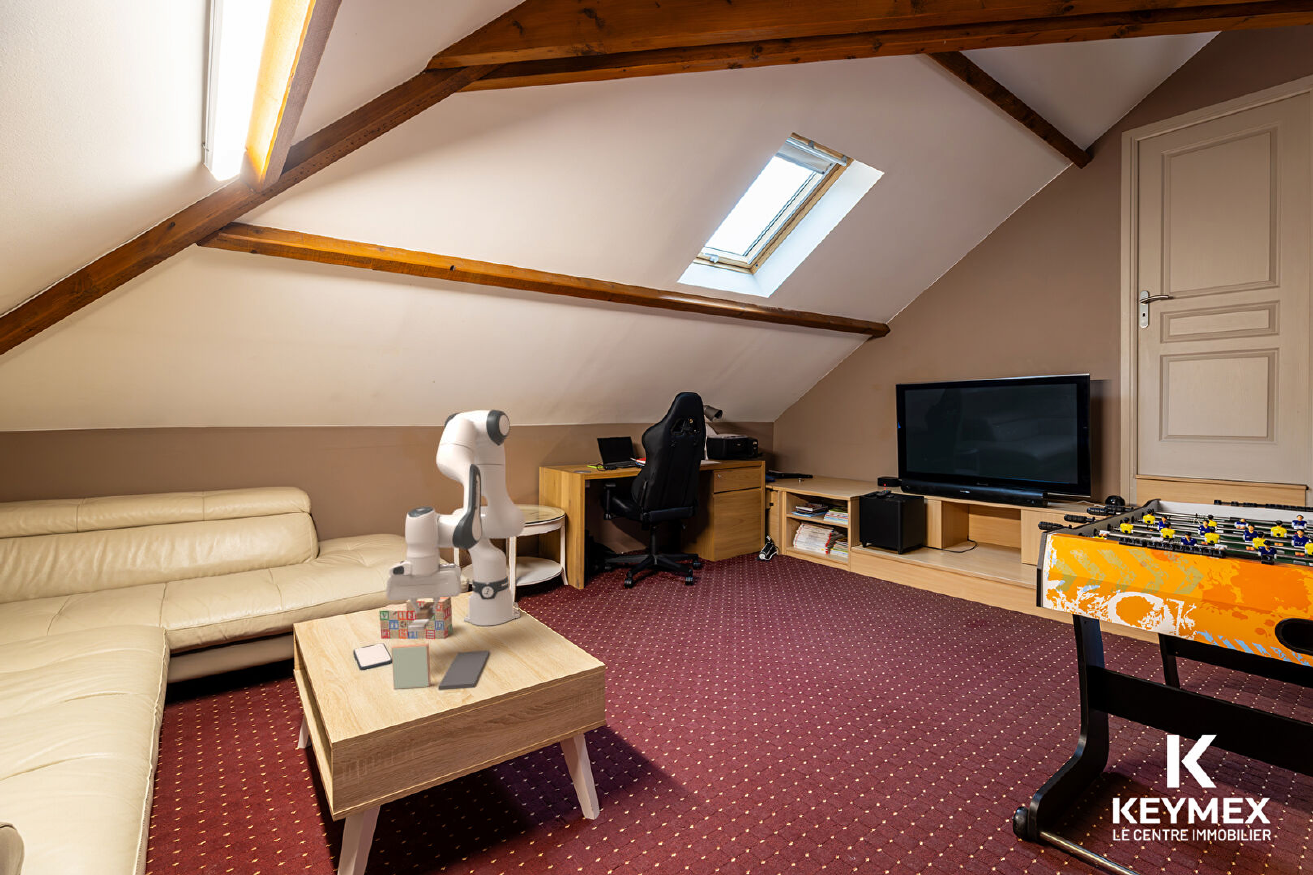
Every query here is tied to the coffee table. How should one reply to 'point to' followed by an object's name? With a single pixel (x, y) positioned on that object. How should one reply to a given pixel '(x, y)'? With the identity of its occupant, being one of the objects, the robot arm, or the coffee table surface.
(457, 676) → the rubber mat
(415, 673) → the tile
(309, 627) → the coffee table surface
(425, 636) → the stack of blocks
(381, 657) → the smartphone
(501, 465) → the robot arm
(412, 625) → the brown handled tool
